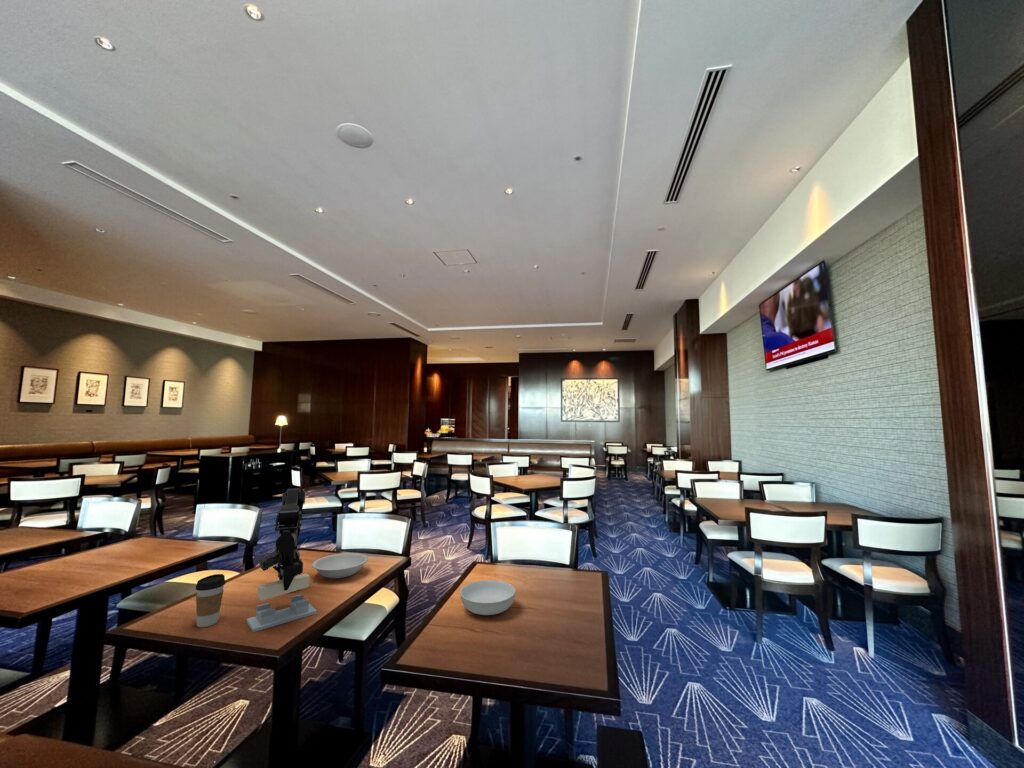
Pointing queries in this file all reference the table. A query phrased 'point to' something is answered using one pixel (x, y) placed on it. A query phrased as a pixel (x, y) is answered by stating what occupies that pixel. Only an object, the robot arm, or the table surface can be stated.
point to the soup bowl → (340, 564)
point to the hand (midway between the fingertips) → (284, 588)
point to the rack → (280, 614)
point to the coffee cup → (209, 599)
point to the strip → (282, 587)
